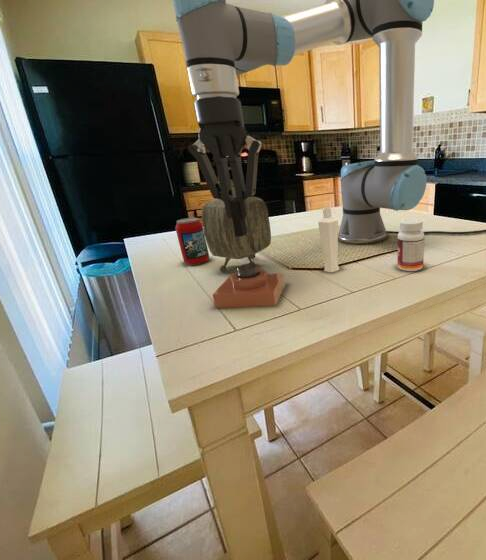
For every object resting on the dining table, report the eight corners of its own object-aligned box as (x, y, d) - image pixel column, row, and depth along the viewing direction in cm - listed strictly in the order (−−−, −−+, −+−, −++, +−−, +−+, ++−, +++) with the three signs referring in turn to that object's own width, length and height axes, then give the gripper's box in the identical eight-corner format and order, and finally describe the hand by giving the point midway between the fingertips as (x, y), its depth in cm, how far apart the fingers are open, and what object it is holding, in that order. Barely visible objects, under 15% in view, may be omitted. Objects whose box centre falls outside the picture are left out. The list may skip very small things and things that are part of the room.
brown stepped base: (285, 285, 75) (282, 264, 73) (275, 305, 66) (271, 282, 64) (232, 287, 76) (228, 267, 74) (215, 308, 66) (210, 284, 64)
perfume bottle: (338, 272, 80) (334, 210, 75) (321, 272, 81) (315, 210, 76) (342, 266, 84) (339, 206, 79) (326, 266, 85) (321, 206, 80)
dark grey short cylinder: (261, 272, 71) (259, 263, 70) (255, 279, 67) (254, 269, 66) (242, 272, 71) (240, 263, 70) (236, 280, 67) (234, 270, 66)
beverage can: (195, 267, 90) (184, 223, 86) (179, 264, 94) (168, 221, 89) (215, 259, 96) (206, 217, 91) (199, 256, 99) (190, 216, 95)
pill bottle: (398, 262, 84) (398, 218, 80) (423, 263, 83) (424, 218, 79) (396, 271, 79) (396, 224, 75) (423, 272, 78) (425, 224, 73)
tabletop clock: (253, 256, 96) (237, 165, 87) (277, 260, 92) (264, 164, 83) (213, 273, 85) (190, 170, 75) (239, 278, 81) (218, 169, 71)
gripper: (168, 98, 53) (200, 241, 62) (248, 92, 53) (269, 237, 62) (189, 103, 60) (216, 231, 69) (260, 98, 60) (278, 228, 69)
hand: (241, 234), depth 66 cm, fingers closed
